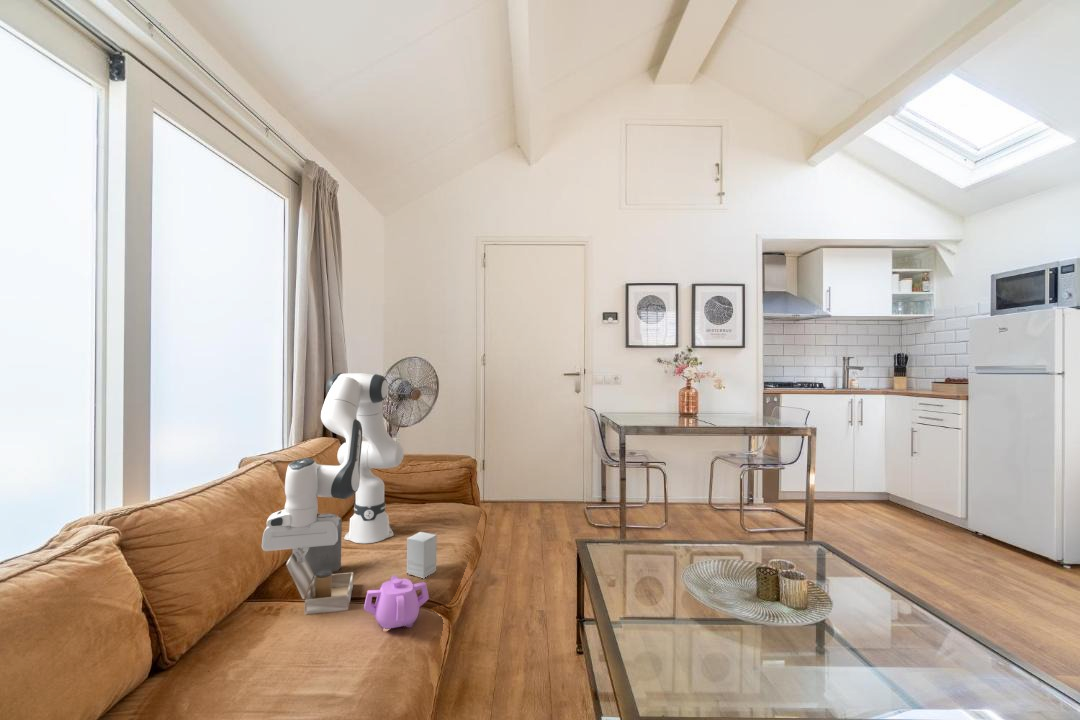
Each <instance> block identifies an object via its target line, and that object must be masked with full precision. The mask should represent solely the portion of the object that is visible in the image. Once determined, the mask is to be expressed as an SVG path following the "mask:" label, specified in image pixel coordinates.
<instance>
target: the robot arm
mask: <svg viewBox="0 0 1080 720" xmlns="http://www.w3.org/2000/svg"><path fill="white" fill-rule="evenodd" d="M325 391H326V397H325V399H324V402H323V405H322V408H321V412H320V420H321V423H322V424H323V426H324V427H325V428H326V429H327V430H329V431H330V432H332V433H334V434H336V435H337V436H340V437H342V438H344V439H345V442H343V443H342V444H341V445H340V447H339V448H338V451H337V453H336V454H337V455H336V456H337V457H336V458H337V462H338V463H339V465H327V464H320V463H319V464H318V463H317V462H316V460H315V459H313V458H307V457H304V458H298V459H295V460H293V461H291V462H290V463H289V464H288V466H287V467H286V468H287V469H286V473H285V481H284V494H285V504H284V509H282V510H278V511H276V512H273V513H271V514H270V515H269V517H268V518H267V519H266V527H265V529H264V530H263V533H262V539H261V549H262V550H263V551H264V552H269V551H271V552H272V551H281V550H292V552H293V554H294V555H295V556H296V557H297V563H301V562H305V555H306V554H307V552H308V550H309V547H317V546H328V545H335V544H336V542H337V541H338V530H337V527H338V525H339V516H338V515H337V514H334V512H329V513H318V511H319V510H318V508H319V507H318V505H319V504H318V503H319V502H318V499H317V497H321V498H334V499H339V500H347V499H349V498H350V497H352V496H353V495H354V494H355V502H354V504H353V506H354V507H353V515H352V516H351V517H350V518H349V528H348V529H349V531H347V533H346V534H345V535H344V538H343V540H345V541H346V540H347V541H351V542H353V543H355V544H372V543H374V544H375V543H378V542H381V541H384V540H386V539H388V538H391V537H394V532H393V530H392V528H391V526H390V522H389V519H390V517H389V515H388V513H386V507H387V506H386V501H385V483H384V481H383V480H382V478H380V477H379V476H377V475H374V474H373V472H372V470H371V469H377V470H378V469H382V470H383V469H392V468H396V467H398V466H400V465H401V463H402V462H403V459H404V455H405V453H404V452H405V451H404V448H403V447H402V445H401V443H399V442H398V441H396V440H395V439H393V437H392V436H390V434H389V433H388V431H387V428H386V426H385V420H384V409H383V407H384V406H383V401H384V400H385V399H387V396H388V394H389V393H388V392H389V383H388V379H386V377H385V376H384V375H382V374H377V373H375V374H371V373H364V372H357V373H356V372H355V373H354V372H350V373H348V372H347V373H346V372H345V373H343V372H338V373H333V374H332V375H331V376H330V377H329V378H328V379H327V381H326V386H325ZM363 438H365V439H366V440H363ZM299 548H303V551H305V552H304V553H303V555H300V554H299V552H298V550H299Z"/></svg>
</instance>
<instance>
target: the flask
mask: <svg viewBox="0 0 1080 720" xmlns="http://www.w3.org/2000/svg"><path fill="white" fill-rule="evenodd" d="M338 517H339V516H338ZM342 526H343V520H342V517H339V525H338V527H337V530H338V541H337V542H336V544H335V545H328V546H317V547H309V550H308V552H307V554H306V555H305V557H306V559H307V562H308V564H309V566H310V568H311V570H312V572H313V574H314V575H313V578H314V576H316V573H317V572H318V571H321V570H331V571H332V573H334V572H339V571H340V570H341V569H340V568H342V532H343V530H342V529H343V528H342ZM301 549H302V551H303V548H301ZM304 552H305V551H303V553H304ZM339 569H340V570H339ZM338 570H339V571H338ZM313 578H312V581H313ZM312 581H311V583H312Z"/></svg>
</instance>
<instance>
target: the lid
mask: <svg viewBox="0 0 1080 720" xmlns="http://www.w3.org/2000/svg"><path fill="white" fill-rule="evenodd" d="M298 552H299V554H300V555H303V551H302V549H301V548H299V550H298ZM285 567H287V568H286V569H287V570H288V573H289V575H290V576H291V579H292V581H293V582H294V584H295V586H296V588H297V590H298V592H299V594H300V596H301V598H302V600H305V599H306V596H307V594H308V591H309V588H310V586H311V583H312V582H311V581H312V578H313V575H314V574H313V572H312V570H311V568H310V566H309V564H308V562H307V559H306V557H305V562H301V563H297V557H296V556H295V555H294V554H293V551H292V552H291V555H290V556H289V558H288V560H287V561H286V564H285Z"/></svg>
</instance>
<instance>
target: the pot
mask: <svg viewBox="0 0 1080 720" xmlns="http://www.w3.org/2000/svg"><path fill="white" fill-rule="evenodd" d="M418 590H421V591H420V592H421V594H420V595H419V596H418V593H417V591H418ZM428 590H429V589H428V587H427V583H426V581H422V582H418V583H413V582H412V580H410V579H408V578H399V577H398V575H397V574H394V575H393V574H392V575H391V576H390V580H386V581H384V582H382V584H381V586H380V588H379V589H370V590H367V592H366V595H365V596H366V597H365V601H364V606H363V610H364V611H365V612H368V613H370V615H373V616H374V618H375V620H376V622H377V623H378V625H379V626H380V627H381V628H382V629H383V628H385V629H390V628H392V629H395V628H400V627H405V626H406V627H409V628H412V627H414V623H415V622H416V621H417V618H418V616H419V612H420V607H421V606H423V605H424V604H425V603H426V602H427V601H428V600H430V596H429V591H428ZM373 597H376V600H375V604H374V603H372V600H373ZM406 627H405V628H406Z"/></svg>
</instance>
